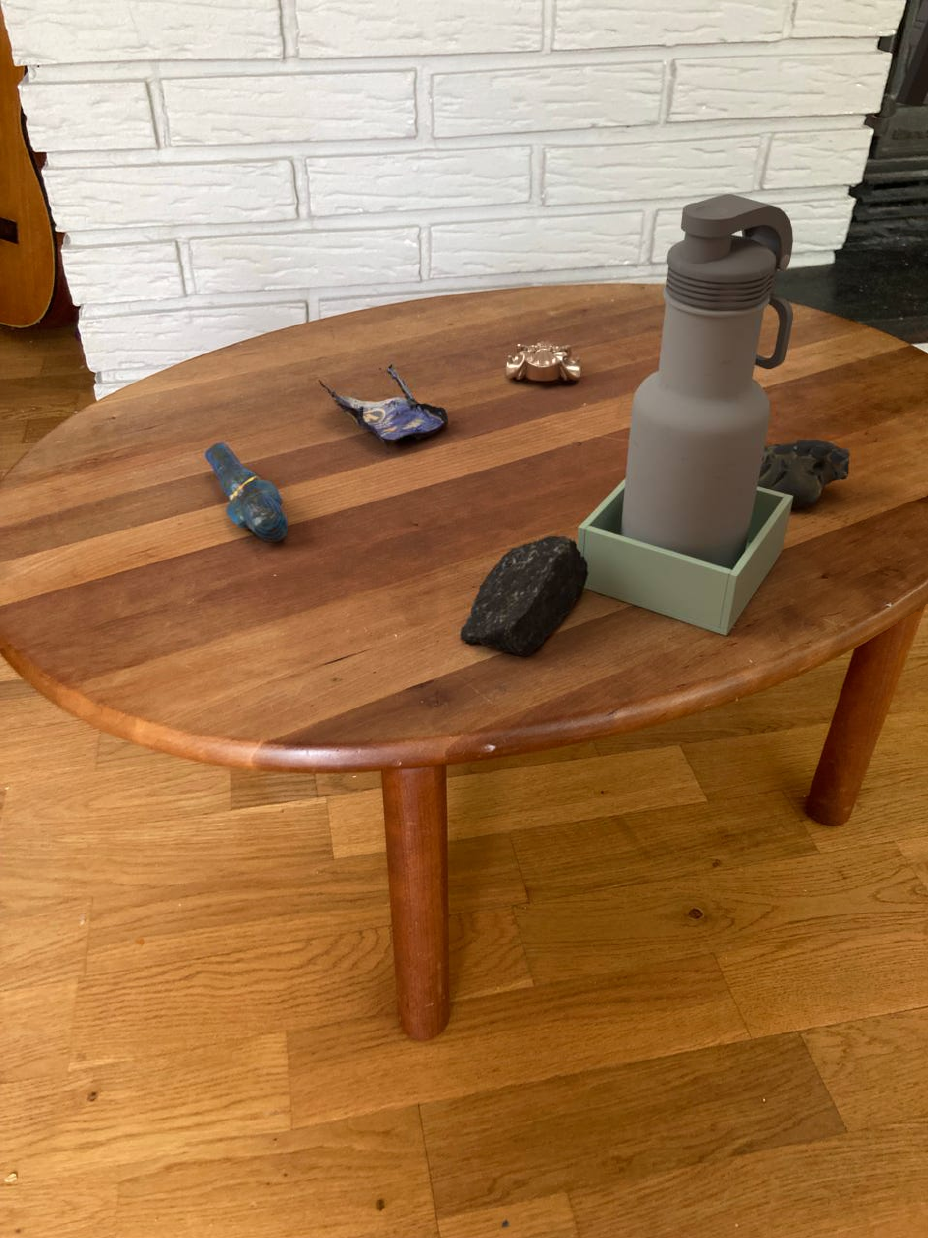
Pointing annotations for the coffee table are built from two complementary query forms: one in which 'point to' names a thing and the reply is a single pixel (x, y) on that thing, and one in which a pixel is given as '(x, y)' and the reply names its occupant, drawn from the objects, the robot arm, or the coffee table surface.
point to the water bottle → (708, 384)
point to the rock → (526, 595)
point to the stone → (802, 469)
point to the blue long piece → (248, 495)
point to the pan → (681, 565)
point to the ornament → (543, 363)
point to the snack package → (393, 414)
